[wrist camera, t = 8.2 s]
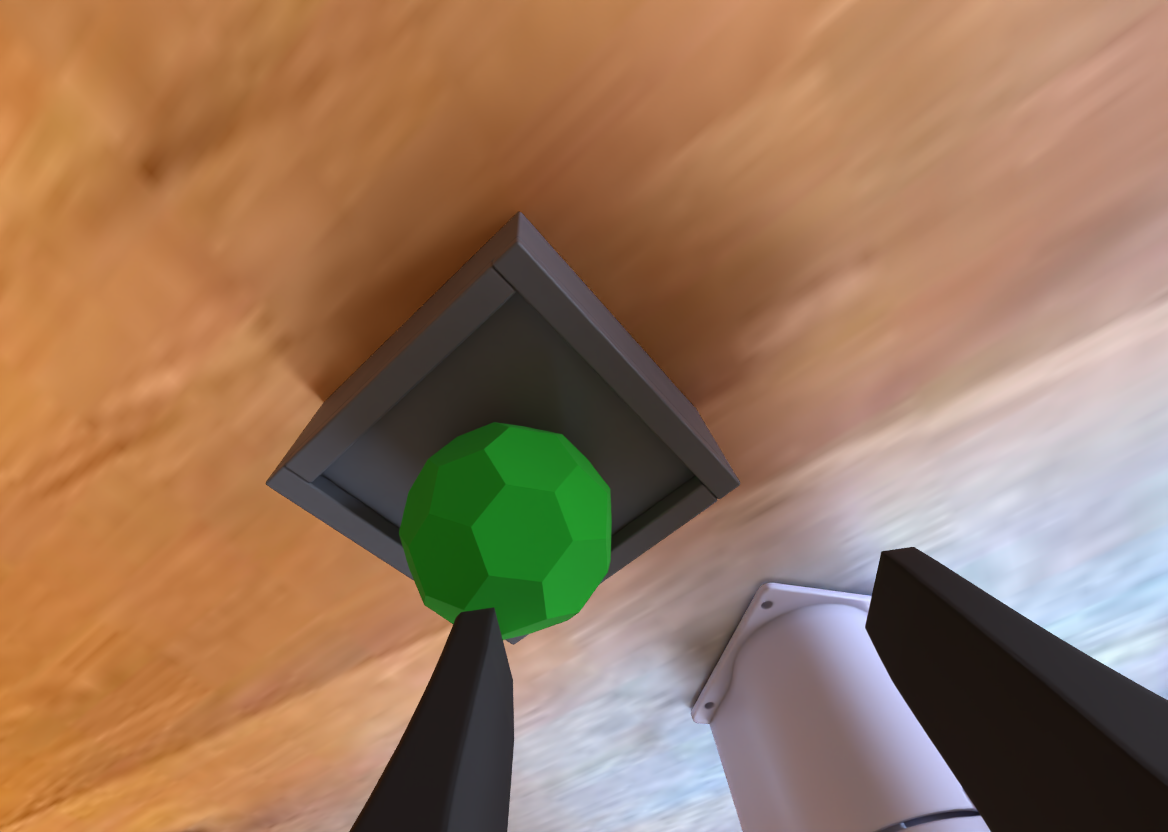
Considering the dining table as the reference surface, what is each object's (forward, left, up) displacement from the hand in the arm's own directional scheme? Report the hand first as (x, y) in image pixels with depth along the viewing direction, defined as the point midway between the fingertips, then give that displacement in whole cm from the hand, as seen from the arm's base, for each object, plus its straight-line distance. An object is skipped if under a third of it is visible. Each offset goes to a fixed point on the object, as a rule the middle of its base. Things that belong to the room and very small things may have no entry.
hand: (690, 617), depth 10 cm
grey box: (-1, +3, -10) cm, 10 cm away
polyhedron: (-1, +3, -6) cm, 7 cm away
